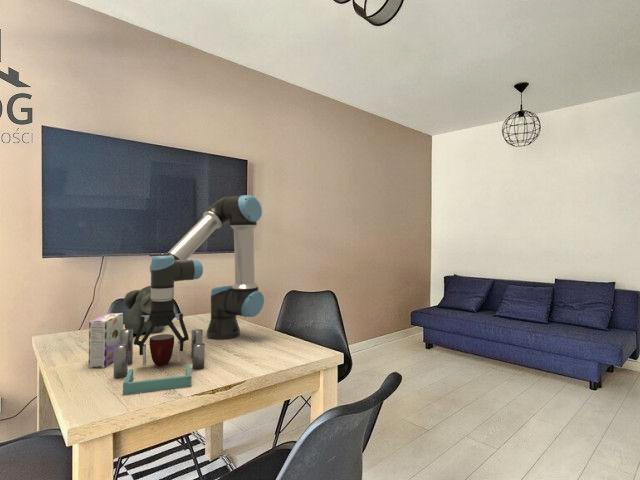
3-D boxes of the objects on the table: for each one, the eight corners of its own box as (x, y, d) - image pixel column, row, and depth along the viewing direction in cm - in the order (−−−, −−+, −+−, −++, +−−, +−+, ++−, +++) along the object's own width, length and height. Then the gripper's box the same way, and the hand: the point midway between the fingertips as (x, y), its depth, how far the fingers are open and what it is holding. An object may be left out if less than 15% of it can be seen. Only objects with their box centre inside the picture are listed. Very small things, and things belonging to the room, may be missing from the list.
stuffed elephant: (171, 325, 189) (171, 273, 189) (159, 336, 168) (160, 277, 168) (131, 326, 186) (132, 274, 186) (115, 337, 165) (116, 278, 165)
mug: (174, 369, 124) (174, 340, 125) (148, 372, 121) (148, 342, 121) (173, 360, 134) (173, 333, 134) (149, 362, 131) (149, 335, 131)
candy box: (107, 355, 139) (108, 312, 139) (123, 355, 139) (124, 312, 139) (87, 368, 125) (88, 320, 125) (105, 368, 125) (106, 320, 126)
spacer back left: (202, 354, 141) (202, 328, 141) (202, 357, 137) (202, 331, 137) (191, 355, 140) (191, 329, 140) (191, 358, 136) (191, 332, 136)
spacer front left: (204, 365, 129) (204, 342, 129) (204, 368, 125) (204, 345, 125) (192, 366, 128) (192, 343, 128) (192, 370, 124) (192, 346, 124)
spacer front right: (128, 373, 120) (128, 343, 120) (126, 377, 117) (127, 346, 117) (114, 374, 119) (115, 344, 119) (112, 379, 115) (112, 347, 115)
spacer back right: (133, 361, 133) (133, 328, 133) (131, 364, 129) (132, 331, 129) (120, 362, 131) (121, 329, 131) (119, 366, 127) (119, 332, 127)
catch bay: (190, 371, 123) (190, 362, 123) (191, 386, 110) (191, 376, 110) (129, 378, 116) (129, 369, 116) (122, 394, 104) (123, 384, 104)
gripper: (196, 296, 135) (195, 355, 135) (127, 299, 127) (126, 362, 127) (197, 299, 128) (196, 361, 128) (124, 302, 120) (123, 369, 120)
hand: (161, 362), depth 128 cm, fingers open, 10 cm apart
